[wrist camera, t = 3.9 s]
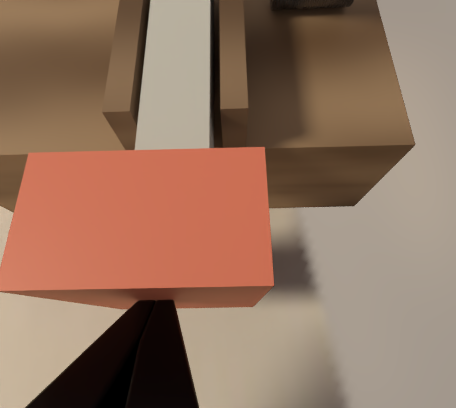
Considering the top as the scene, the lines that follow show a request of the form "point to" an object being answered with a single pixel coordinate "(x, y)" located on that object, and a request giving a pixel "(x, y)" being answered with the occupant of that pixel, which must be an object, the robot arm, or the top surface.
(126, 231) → the red plunger
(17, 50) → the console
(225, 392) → the top surface
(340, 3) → the lever
